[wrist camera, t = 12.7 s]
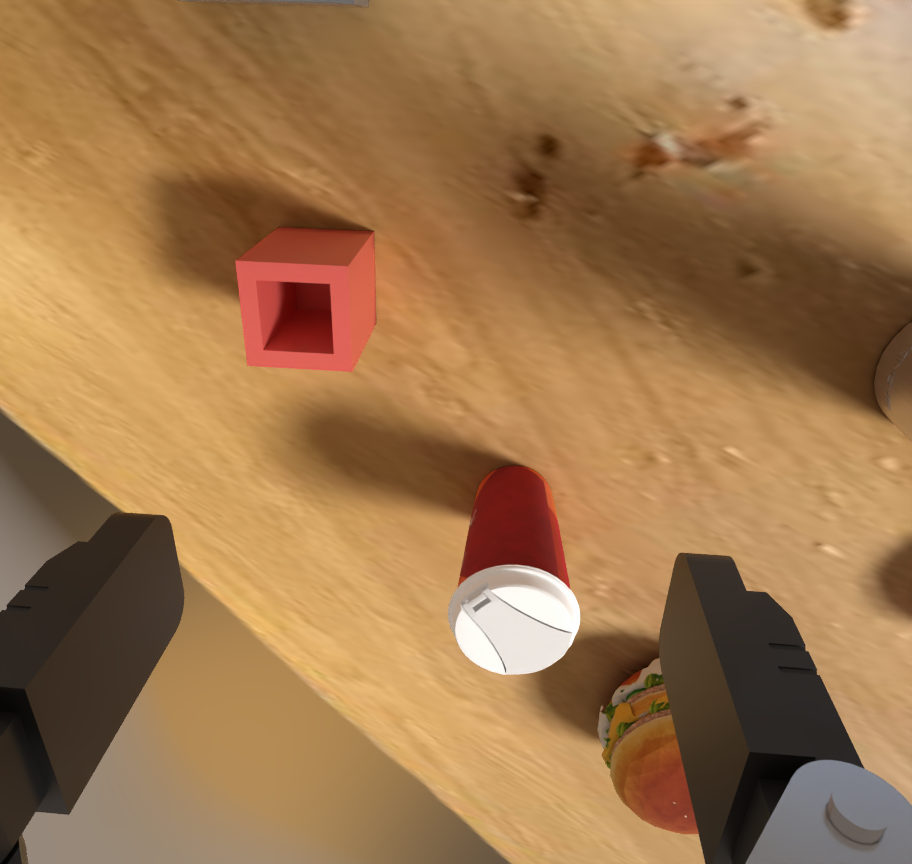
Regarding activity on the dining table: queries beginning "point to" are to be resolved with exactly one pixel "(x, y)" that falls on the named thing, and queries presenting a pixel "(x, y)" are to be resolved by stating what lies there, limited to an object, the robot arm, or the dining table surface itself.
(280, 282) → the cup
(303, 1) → the holder
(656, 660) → the burger
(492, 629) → the paper cup
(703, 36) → the dining table surface
